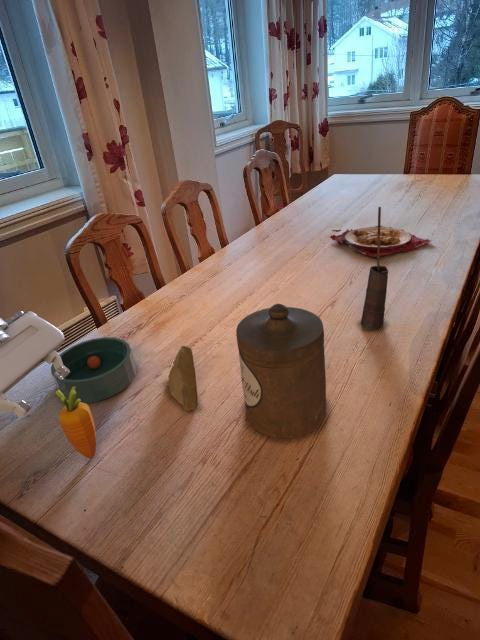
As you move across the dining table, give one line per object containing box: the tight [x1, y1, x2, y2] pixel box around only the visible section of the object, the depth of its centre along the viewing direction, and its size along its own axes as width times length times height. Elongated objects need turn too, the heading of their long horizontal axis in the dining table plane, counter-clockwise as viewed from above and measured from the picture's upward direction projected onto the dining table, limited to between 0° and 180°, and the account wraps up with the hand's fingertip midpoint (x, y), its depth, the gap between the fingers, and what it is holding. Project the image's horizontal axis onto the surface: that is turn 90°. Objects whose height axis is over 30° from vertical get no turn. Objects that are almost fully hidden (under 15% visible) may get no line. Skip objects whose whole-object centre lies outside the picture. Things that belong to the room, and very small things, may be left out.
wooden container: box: [235, 303, 327, 439], centre depth 75 cm, size 15×15×22 cm
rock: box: [166, 345, 199, 412], centre depth 85 cm, size 11×9×10 cm
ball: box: [87, 356, 101, 369], centre depth 97 cm, size 3×3×3 cm
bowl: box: [50, 336, 137, 404], centre depth 93 cm, size 17×17×6 cm
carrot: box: [54, 386, 97, 460], centre depth 71 cm, size 5×5×15 cm
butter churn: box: [360, 206, 389, 331], centre depth 95 cm, size 9×10×28 cm
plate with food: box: [329, 225, 433, 258], centre depth 149 cm, size 24×26×4 cm
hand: (47, 393), depth 69 cm, fingers open, 8 cm apart
